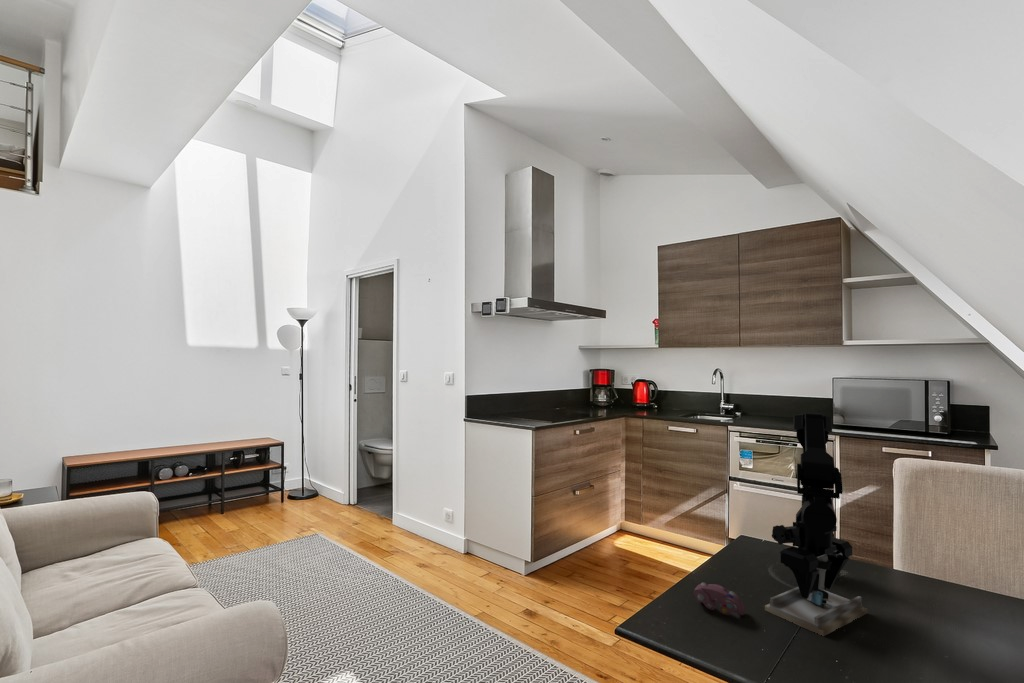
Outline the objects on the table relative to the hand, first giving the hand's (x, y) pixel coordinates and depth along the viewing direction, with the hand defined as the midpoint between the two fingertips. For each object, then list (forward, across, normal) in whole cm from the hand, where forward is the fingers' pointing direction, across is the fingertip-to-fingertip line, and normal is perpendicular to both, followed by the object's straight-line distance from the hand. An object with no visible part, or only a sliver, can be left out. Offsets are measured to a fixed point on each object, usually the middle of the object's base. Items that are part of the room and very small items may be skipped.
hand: (816, 593), depth 111 cm
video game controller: (+4, +18, -11) cm, 21 cm away
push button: (+2, 0, 0) cm, 3 cm away
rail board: (+4, 0, 0) cm, 4 cm away
